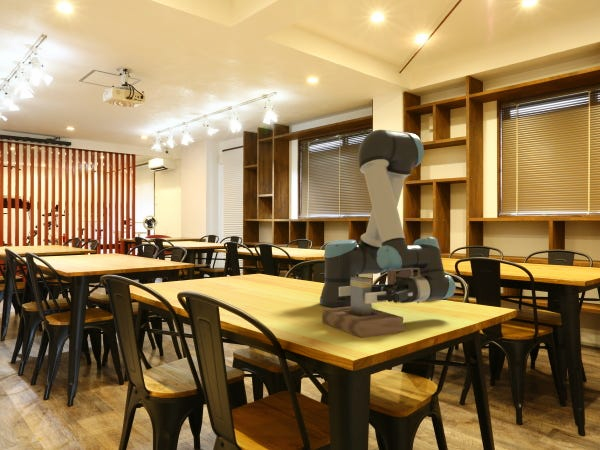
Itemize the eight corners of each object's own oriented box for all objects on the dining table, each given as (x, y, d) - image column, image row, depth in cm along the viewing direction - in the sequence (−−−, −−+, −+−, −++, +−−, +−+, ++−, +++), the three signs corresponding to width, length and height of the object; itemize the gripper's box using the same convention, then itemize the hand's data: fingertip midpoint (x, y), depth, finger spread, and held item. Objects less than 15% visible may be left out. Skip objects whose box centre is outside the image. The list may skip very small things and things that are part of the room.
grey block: (350, 325, 133) (350, 277, 133) (359, 324, 134) (359, 276, 134) (362, 329, 128) (362, 279, 127) (371, 328, 129) (371, 278, 129)
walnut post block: (322, 322, 137) (322, 309, 137) (361, 318, 143) (361, 305, 143) (360, 337, 119) (360, 322, 119) (403, 331, 125) (403, 317, 125)
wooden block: (411, 294, 190) (411, 251, 190) (386, 293, 194) (386, 250, 194) (413, 293, 193) (413, 251, 193) (388, 291, 198) (388, 250, 198)
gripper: (440, 308, 128) (378, 316, 118) (385, 296, 150) (329, 301, 141) (440, 282, 128) (378, 287, 118) (385, 273, 150) (329, 277, 141)
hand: (351, 294), depth 129 cm, fingers open, 13 cm apart
